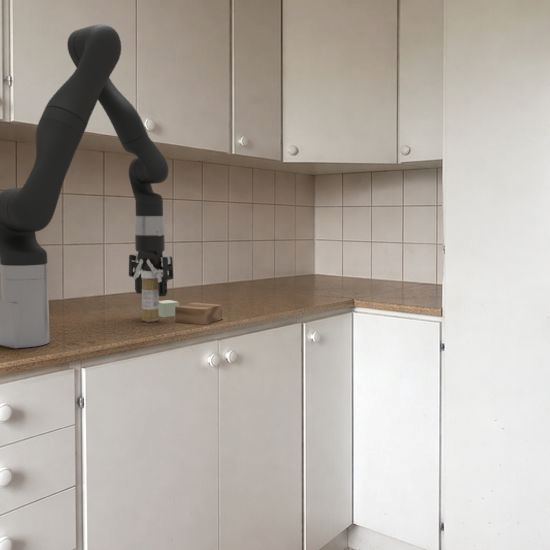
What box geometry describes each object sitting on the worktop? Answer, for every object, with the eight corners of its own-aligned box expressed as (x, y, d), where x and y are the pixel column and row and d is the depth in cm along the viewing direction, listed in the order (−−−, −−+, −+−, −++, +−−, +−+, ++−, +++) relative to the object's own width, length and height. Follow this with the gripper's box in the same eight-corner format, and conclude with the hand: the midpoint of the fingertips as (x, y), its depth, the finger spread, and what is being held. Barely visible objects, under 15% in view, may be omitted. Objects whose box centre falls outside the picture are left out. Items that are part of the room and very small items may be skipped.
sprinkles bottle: (152, 318, 159) (152, 269, 157) (162, 320, 155) (162, 270, 154) (138, 320, 155) (137, 270, 154) (148, 322, 152) (147, 271, 151)
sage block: (163, 317, 161) (163, 303, 160) (154, 315, 165) (154, 301, 164) (179, 316, 164) (179, 302, 164) (170, 313, 168) (169, 300, 168)
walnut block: (204, 324, 150) (204, 309, 150) (175, 321, 154) (175, 306, 154) (222, 319, 158) (222, 304, 158) (193, 316, 162) (193, 302, 162)
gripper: (120, 233, 154) (121, 294, 156) (158, 234, 146) (159, 298, 148) (141, 232, 160) (142, 291, 162) (179, 233, 152) (180, 295, 154)
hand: (151, 294), depth 155 cm, fingers open, 8 cm apart
